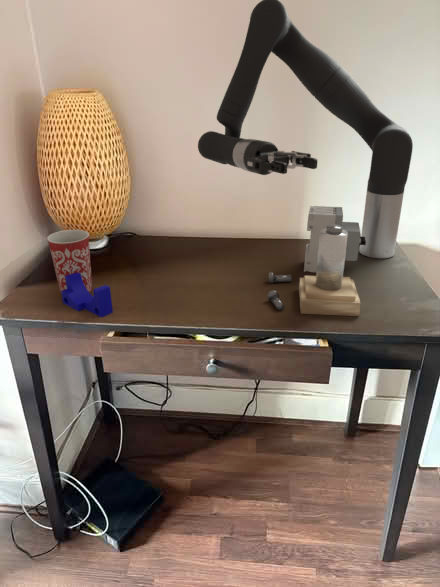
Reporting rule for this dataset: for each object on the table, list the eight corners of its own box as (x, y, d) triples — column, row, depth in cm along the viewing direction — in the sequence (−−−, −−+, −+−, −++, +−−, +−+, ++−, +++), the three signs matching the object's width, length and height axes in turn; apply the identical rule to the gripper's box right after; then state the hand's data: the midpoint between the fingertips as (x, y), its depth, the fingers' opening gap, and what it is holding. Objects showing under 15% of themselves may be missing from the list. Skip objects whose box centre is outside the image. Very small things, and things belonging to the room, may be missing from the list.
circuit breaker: (362, 275, 117) (369, 216, 111) (303, 271, 120) (308, 213, 114) (360, 264, 124) (367, 208, 118) (305, 260, 127) (309, 205, 120)
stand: (298, 289, 111) (300, 273, 109) (351, 291, 109) (353, 275, 107) (300, 313, 100) (301, 296, 98) (359, 316, 98) (361, 298, 97)
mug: (96, 296, 108) (88, 240, 102) (54, 300, 106) (44, 244, 100) (97, 275, 119) (90, 223, 113) (59, 278, 117) (50, 226, 112)
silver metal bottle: (314, 279, 106) (319, 222, 100) (340, 280, 105) (346, 223, 99) (316, 290, 101) (321, 230, 95) (343, 291, 100) (350, 231, 94)
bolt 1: (270, 284, 113) (270, 274, 112) (268, 279, 115) (269, 270, 114) (291, 283, 114) (292, 274, 113) (289, 279, 116) (290, 270, 115)
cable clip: (63, 303, 105) (58, 278, 103) (80, 296, 108) (76, 272, 106) (95, 320, 98) (91, 293, 95) (112, 312, 101) (109, 286, 99)
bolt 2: (267, 300, 105) (267, 290, 104) (277, 299, 106) (278, 289, 105) (275, 311, 101) (275, 301, 100) (285, 309, 101) (286, 299, 100)
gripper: (230, 142, 108) (276, 151, 96) (278, 137, 115) (327, 144, 103) (230, 175, 111) (274, 188, 99) (277, 168, 118) (324, 179, 106)
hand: (301, 166), depth 101 cm, fingers open, 8 cm apart
